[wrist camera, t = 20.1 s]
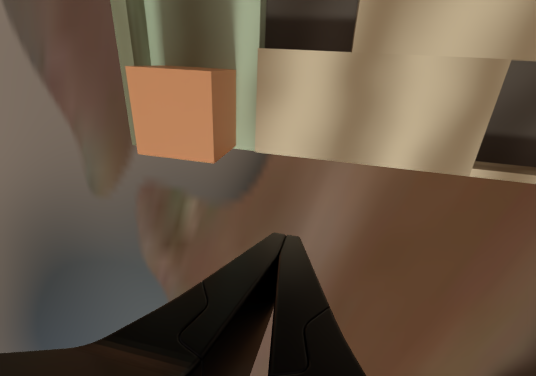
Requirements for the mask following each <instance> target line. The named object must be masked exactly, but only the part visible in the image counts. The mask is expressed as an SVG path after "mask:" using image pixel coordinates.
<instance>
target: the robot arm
mask: <svg viewBox="0 0 536 376" xmlns="http://www.w3.org/2000/svg"><path fill="white" fill-rule="evenodd" d="M273 308H274V313H273V324H272V336H271V347H270V358H269V370H268V376H366V375H365V373H364V371H363V370H362V368H361V366H360V365H359V363H358V361H357V360H356V358H355V356H354V355H353V353H352V351H351V349H350V347H349V346H348V344H347V342H346V340H345V339H344V337H343V335H342V333H341V330H340V328H339V326H338V324H337V322H336V320H335V318H334V315H333V313H332V311H331V309H330V306H329V304H328V302H327V299H326V297H325V295H324V293H323V290H322V288H321V286H320V283H319V281H318V279H317V276H316V274H315V272H314V269H313V267H312V265H311V262H310V260H309V258H308V255H307V253H306V251H305V248H304V246H303V244H302V242H301V239H300V237H298V236H292V235H287V236H286V235H285V234H280V233H272V234H271V235H269V236H268V237H266V238H265V239H263V240H262V241H260V242H259V243H257V244H256V245H255V246H253V247H252V248H250V249H249V250H247V251H246V252H244V253H243V254H241V255H240V256H238V257H237V258H235V259H234V260H232V261H231V262H229V263H228V264H227V265H225V266H224V267H222V268H221V269H219V270H218V271H216V272H215V273H213V274H212V275H210V276H209V277H207V278H206V279H204V280H203V281H202V282H200V283H198V284H197V285H195V286H194V287H192V288H191V289H189V290H188V291H186V292H185V293H183V294H182V295H180V296H178V297H177V298H175V299H174V300H172V301H170V302H168V303H167V304H165V305H164V306H162V307H160V308H158V309H156V310H155V311H153V312H151V313H149V314H147V315H145V316H143V317H142V318H140V319H138V320H136V321H134V322H132V323H131V324H129V325H127V326H125V327H123V328H121V329H120V330H118V331H116V332H114V333H112V334H110V335H108V336H107V337H104V338H102V339H100V340H98V341H96V342H93V343H91V344H87V345H84V346H79V347H74V348H66V349H52V350H39V351H26V352H12V353H0V376H250V373H251V370H252V368H253V365H254V362H255V359H256V356H257V354H258V351H259V348H260V345H261V342H262V339H263V337H264V334H265V331H266V328H267V325H268V322H269V320H270V317H271V314H272V311H273Z"/></svg>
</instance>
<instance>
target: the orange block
mask: <svg viewBox="0 0 536 376" xmlns="http://www.w3.org/2000/svg"><path fill="white" fill-rule="evenodd" d="M125 69H126V76H127V83H128V90H129V96H130V103H131V110H132V117H133V124H134V130H135V137H136V144H137V151H138V154H142V155H150V156H158V157H167V158H175V159H182V160H190V161H198V162H206V163H215V162H217V161H218V160H219V159H220V158H221V157H223V156H224V155H225V154H226V153H228V152H229V151H230V150H231V149H233V148H234V147H235V146H236V70H234V69H218V68H201V67H184V66H167V65H158V66H125Z"/></svg>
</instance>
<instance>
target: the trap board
mask: <svg viewBox="0 0 536 376" xmlns="http://www.w3.org/2000/svg"><path fill="white" fill-rule="evenodd" d="M110 2H111V9H112V15H113V22H114V28H115V35H116V41H117V48H118V54H119V61H120V68H121V74H122V81H123V87H124V94H125V100H126V107H127V113H128V120H129V126H130V133H131V140H132V145H137V144H136V137H135V130H134V124H133V117H132V110H131V103H130V96H129V90H128V83H127V76H126V69H125V66H158V65H167V66H184V67H201V68H218V69H234V70H236V146H235V147H234V149H243V150H252V151H255V152H258V153H267V154H276V155H285V156H294V157H302V158H311V159H320V160H329V161H338V162H347V163H356V164H364V165H373V166H382V167H391V168H400V169H409V170H417V171H426V172H435V173H444V174H453V175H462V176H471V177H479V178H488V179H497V180H506V181H515V182H524V183H532V184H536V0H110Z"/></svg>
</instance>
